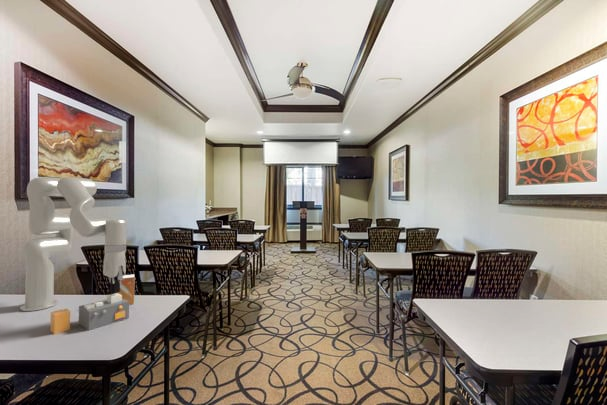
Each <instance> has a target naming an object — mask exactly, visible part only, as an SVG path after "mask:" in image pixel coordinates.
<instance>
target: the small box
mask: <svg viewBox="0 0 607 405" xmlns="http://www.w3.org/2000/svg"><path fill="white" fill-rule="evenodd" d="M135 280H136V278H135V274H125V275H124V276H123V279H122V280H121V282H120V292H117V293H118V294H121V295H122V299H125V300H127V301H129V305H134V304H135V284H136V283H135V282H136V281H135ZM113 294H116V293H113Z"/></svg>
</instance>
